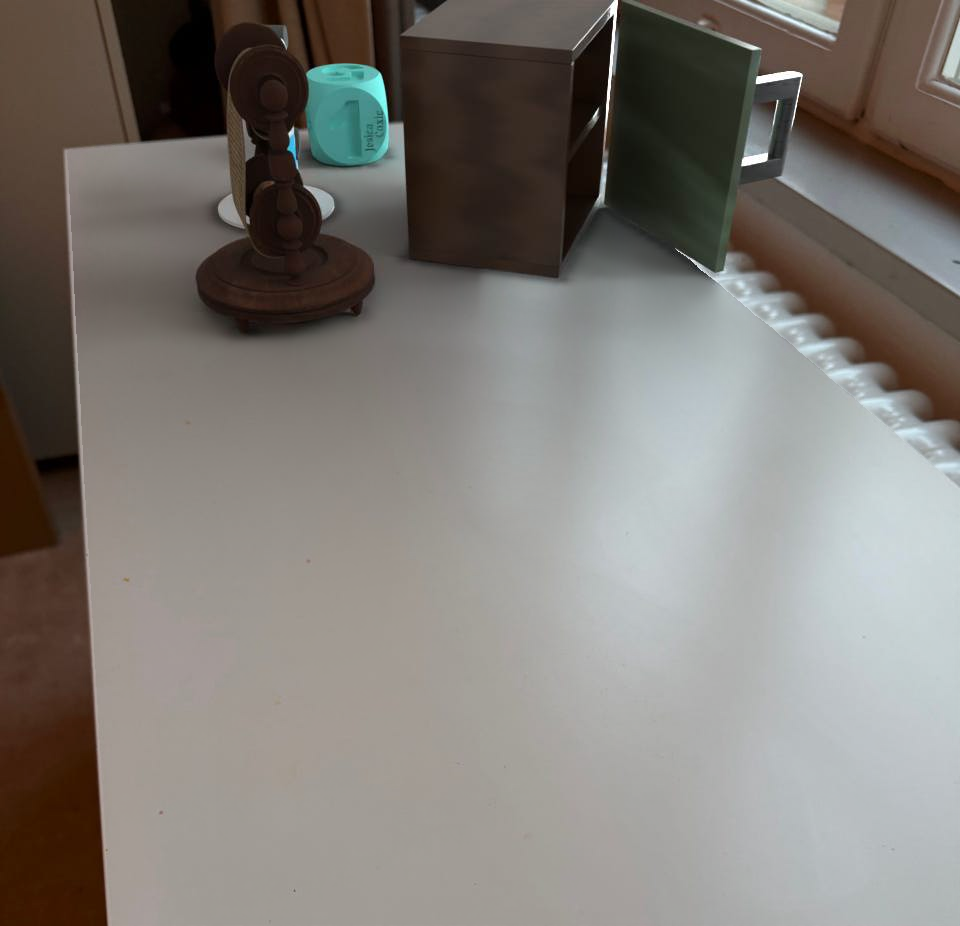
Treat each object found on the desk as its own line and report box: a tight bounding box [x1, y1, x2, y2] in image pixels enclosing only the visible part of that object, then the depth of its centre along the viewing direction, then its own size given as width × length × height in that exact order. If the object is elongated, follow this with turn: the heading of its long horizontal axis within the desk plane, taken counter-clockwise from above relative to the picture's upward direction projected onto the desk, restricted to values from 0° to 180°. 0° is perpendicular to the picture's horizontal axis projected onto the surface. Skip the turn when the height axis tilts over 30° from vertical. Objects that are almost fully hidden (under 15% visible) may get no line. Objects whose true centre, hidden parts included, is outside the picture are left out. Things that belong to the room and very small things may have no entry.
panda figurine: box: [217, 24, 335, 230], centre depth 97 cm, size 12×11×15 cm
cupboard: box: [399, 0, 618, 279], centre depth 92 cm, size 14×18×18 cm
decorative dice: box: [304, 63, 390, 167], centre depth 111 cm, size 8×8×8 cm
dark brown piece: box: [195, 21, 376, 334], centre depth 81 cm, size 15×15×20 cm
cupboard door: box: [603, 0, 803, 274], centre depth 93 cm, size 8×18×18 cm, turn 28°
